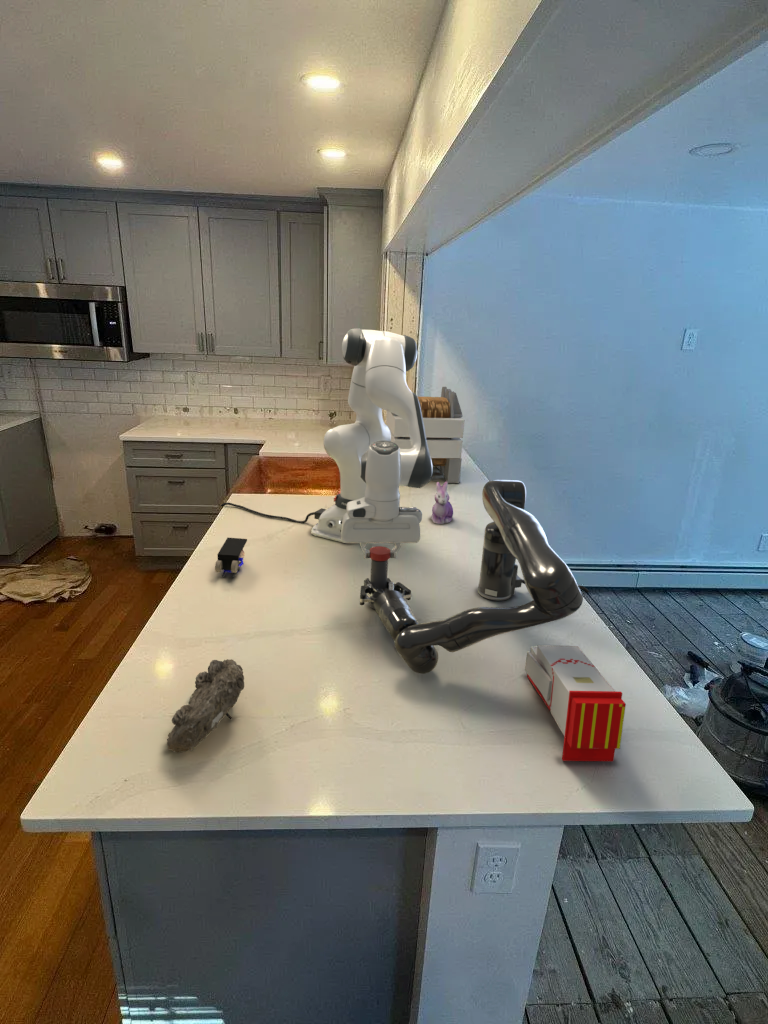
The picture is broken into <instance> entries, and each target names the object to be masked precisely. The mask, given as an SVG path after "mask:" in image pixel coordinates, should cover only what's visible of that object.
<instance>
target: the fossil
mask: <svg viewBox="0 0 768 1024" xmlns="http://www.w3.org/2000/svg"><path fill="white" fill-rule="evenodd" d="M243 670H244V669H243V667H242V665H240V664H237V662H236V661H235V660H234V659H232V658H231V659H227V658H226V659H224V660H223V661H222V660H217V659H212V660H211V661H210V663H209V665H208V666H207V671H201V672H199V673H198V674H197V675H196V676H195V680H194V684H195V685H194V687H195V689H194V690H193V693H192V694H191V697H190V698H189V700H188V704H184V705H182V706H181V707H180V709H177V710H176V711H175V713H174V715H173V716H172V718H171V723H172V724H173V727H172V730H171V731H170V732H168V734H167V738H166V741H167V742H166V745H167V749H168V750H169V751H173V752H174V753H176V754H178V753H182V752H188V751H189V752H192V751H193V750H195V748H196V747H197V746H199V744H200V743H201V742H203V741H204V740H205V739H206V738H207V737H208V736H209V735H210V734H211V733H212V732H214V730H215V729H217V727H218V726H219V724H220V722H221V721H222V720H223V719H224V718H225V716H226V717H227V719H229V720H233V717H232V715H230V714H229V710H230V709H231V708H234V706H235V704H236V703H237V702H238V699H239V697H240V695H241V693H242V691H243V690H245V689H244V688H245V675H244V671H243Z"/></svg>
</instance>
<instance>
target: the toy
mask: <svg viewBox="0 0 768 1024" xmlns="http://www.w3.org/2000/svg"><path fill="white" fill-rule="evenodd" d="M524 671H525V672H526V674H527V675H526V677H527V678H528V680H529V682H530V683H531V685H532V686H533V687H534V689H535V690H536V692H537V694H538V695H539V697H540V698H541V699H542V701H543V703H544V705H545V706H546V707H547V709H548V711H550V714H551V716H552V717H553V719H554V722H555V723H556V725H557V726H558V728H559V730H560V731H561V733H562V735H563V747H562V754H561V760H562V761H563V762H614V760H615V759H614V758H615V751H616V750H617V749H618V750H620V749H621V743H622V735H623V727H624V720H625V713H626V702H625V701H624V699H623V692H622V691H620V690H619V691H618V690H617V691H616V690H615V689H614V687H612V685H611V684H610V683H609V682H608V680H607V679H606V678H605V677H604V675H602V673H601V672H600V671H599V670H598V668H597V667H596V666H595V665H594V664H593V663H592V661H591V660H590V659H589V657H587V655H586V654H585V653H584V652H583V650H582V649H581V648H580V647H579V646H578V645H541V644H540V645H536V646H534V645H533V646H530V650H529V651H526V656H525V664H524Z"/></svg>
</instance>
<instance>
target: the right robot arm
mask: <svg viewBox="0 0 768 1024" xmlns="http://www.w3.org/2000/svg"><path fill="white" fill-rule="evenodd" d="M481 497H482V499H481V500H482V504H483V507H484V509H485V512H486V513H487V515H488V516H489V518H490V519H491V520H492V521H491V522H489V523H488V524H486V526H485V528H484V535H483V544H482V553H481V561H480V572H479V578H478V579H479V580H478V587H477V592H478V595H480V596H481V597H483V598H484V599H487V600H491V601H497V602H499V601H500V602H501V601H506V600H509V599H511V598H512V597H515V591H516V589H517V588H519V589H520V588H522V584H523V585H525V587H526V590H527V592H528V593H529V596H530V597H531V599H532V600H531V601H529V602H526V603H524V604H521V605H516V606H509V607H507V606H506V607H494V606H493V607H492V606H478V607H474V608H473V607H472V608H469V609H466V610H463V611H461V612H459V613H456V614H454V615H451V616H449V617H448V618H445V619H441V620H433V621H429V622H422V623H419V621H418V619H417V618H416V616H415V614H414V613H413V610H412V608H411V606H410V605H409V603H408V602H407V601H411V600H412V590H411V589H410V588H408V587H407V586H406V585H404V584H403V583H401V582H400V581H397V582H395V583H394V581H392V580H391V578H390V577H387V589H379V588H378V587H377V586H373V585H372V584H371V582H370V578H369V577H366V578H365V579H364V580H363V585H361V586H360V592H359V605H360V606H365V605H366V604H367V603H368V604H369V603H371V604H372V605H373V606H374V607H375V609H374V610H375V612H376V613H377V616H378V617H379V619H380V621H381V623H382V624H383V626H384V627H385V629H386V630H387V632H388V633H389V636H390V637H391V638H392V640H393V641H394V648H395V650H396V652H397V653H398V655H399V656H400V657H401V658H402V660H403V661H404V662H405V663H406V665H407V666H408V668H409V669H410V670H412V671H413V672H414V673H416V674H419V675H421V674H422V675H424V674H429V673H431V672H432V671H433V670H435V668H436V667H437V665H438V662H439V653H438V649H437V647H436V646H439V647H441V648H443V649H444V650H446V651H447V652H449V653H456V652H459V651H461V650H464V649H466V648H469V647H471V646H473V645H475V644H478V643H481V642H483V641H486V640H488V639H490V638H493V637H496V636H500V635H503V634H507V633H511V632H516V631H519V630H525V629H529V628H532V627H536V626H540V625H544V624H549V623H553V622H555V621H559V620H562V619H565V618H567V617H569V616H571V615H573V614H575V613H576V612H577V611H578V610H579V609H581V606H582V605H583V601H584V596H583V595H584V594H583V593H582V591H583V592H585V593H590V590H589V589H588V588H587V587H586V586H583V585H579V584H578V582H577V580H576V578H575V576H574V574H573V572H572V570H571V568H570V567H569V565H568V564H567V563H566V561H564V560H563V559H562V557H560V556H559V555H558V554H557V552H556V551H555V550H554V549H553V548H552V547H551V545H550V544H549V539H548V536H547V533H546V531H545V529H544V528H543V526H542V525H541V523H540V521H539V520H538V519H537V517H536V516H534V515H533V514H532V513H531V512H528V511H527V510H525V508H526V502H527V487H526V485H525V483H524V482H523V481H522V480H515V479H514V480H513V479H512V480H511V479H493V480H489V481H487V482H486V483H485V484H484V486H483V488H482V491H481ZM517 562H518V564H519V565H518V564H517ZM519 567H520V570H521V573H522V578H523V579H522V578H521V577H520V576H519V575H518V570H519ZM370 597H371V598H370Z"/></svg>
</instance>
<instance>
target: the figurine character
mask: <svg viewBox="0 0 768 1024" xmlns="http://www.w3.org/2000/svg"><path fill="white" fill-rule="evenodd" d="M247 542H248V538H240V537H226V539H225V541H224V543H223V544H222V546H221V547H220V549H219V551H218V552H217V560H216V562H215V564H214V572H215V573H221V577H222V578H224V577H225V576H226V574H227V573H230V574H231V573H232V574H231V578H234V577H235V575H236V573H237V572H239V571H240V567H242V566H243V565H244V564H245V562H244V558H245V551H244V547H245V546H246V544H247Z"/></svg>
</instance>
